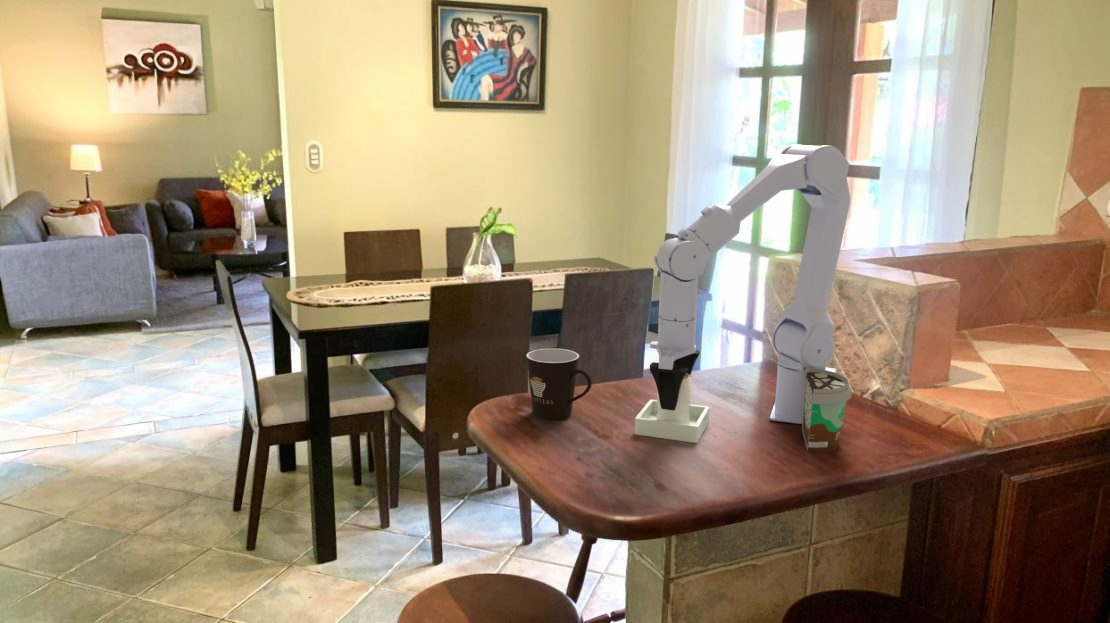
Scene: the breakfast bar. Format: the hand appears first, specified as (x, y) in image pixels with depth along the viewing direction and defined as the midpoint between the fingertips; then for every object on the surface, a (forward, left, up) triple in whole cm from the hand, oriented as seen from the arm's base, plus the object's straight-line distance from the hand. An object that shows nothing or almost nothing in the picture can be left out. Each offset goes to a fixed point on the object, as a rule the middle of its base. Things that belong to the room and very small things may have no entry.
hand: (673, 401), depth 129 cm
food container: (-23, -3, -5) cm, 24 cm away
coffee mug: (+19, +2, -5) cm, 20 cm away
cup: (0, 0, -4) cm, 4 cm away
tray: (0, 0, -4) cm, 4 cm away
